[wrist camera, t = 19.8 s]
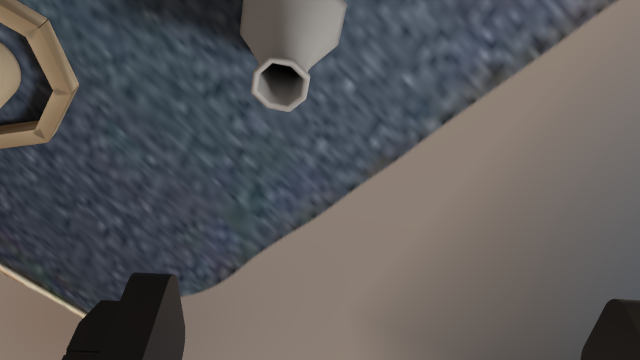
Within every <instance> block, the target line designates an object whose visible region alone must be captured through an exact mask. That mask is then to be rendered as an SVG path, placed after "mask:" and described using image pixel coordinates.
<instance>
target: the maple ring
mask: <svg viewBox="0 0 640 360" xmlns="http://www.w3.org/2000/svg"><path fill="white" fill-rule="evenodd" d="M0 22H1V23H2V24H4V25H6V26H8V27H9V28H11V29H13V30H15V31H16V32H18V33H20V34H22V35H23V36H25V37H26V38H27V40H28V42H29V44H30V46H31V48H32V50H33V52H34V54H35V56H36V58H37V60H38V62H39V64H40V66H41V68H42V69H43V71H44V73H45V75H46V77H47V79H48V81H49V83H50V85H51V87H52V89H53V93H52V95H51V97H50V99H49V101H48V103H47V105H46V108H45V110H44V112H43V114H42V116H41V118H40V120H38V121H31V122H24V123H17V124H9V125H2V126H0V149H1V148H9V147H16V146H24V145H31V144H39V143H46V142H49V140H50V139H51V138H52V136H53V135H54V134H55V132H56V131H57V129H58V127H59V125H60V123H61V121H62V119H63V117H64V115H65V113H66V111H67V109H68V107H69V105H70V103H71V101H72V99H73V97H74V95H75V93H76V91H77V89H78V87H79V83H78V81H77V79H76V77H75V75H74V72H73V70H72V68H71V66H70V64H69V62H68V60H67V58H66V56H65V53H64V51H63V49H62V47H61V45H60V43H59V41H58V39H57V37H56V34H55V32H54V30H53V28H52V26H51V24H50V22H49V20H47V18H46V17H44V16H42V15H40V14H39V13H37V12H35V11H34V10H32V9H30V8H28V7H27V6H25V5H23V4H22V3H20V2H18V1H17V0H0Z"/></svg>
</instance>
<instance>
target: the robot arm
mask: <svg viewBox="0 0 640 360" xmlns="http://www.w3.org/2000/svg"><path fill="white" fill-rule="evenodd" d="M184 343H185V324H184V318H183V311H182V305H181V299H180V293H179V287H178V281H177V277H176V276H175V275H174V274H155V273H133V274H132V275H131V277H130V278H129V280H128V283H127V285H126V287H125V290H124V292H123V295H122V297H121V300H120V301H106V300H101V301H100V302H99V303H98V304H97V305H96V306H95V307H94V308H93V309H92V310H91V311H90V312H89V313H88V314H87V315H86V316H85V317H84V318H83V319H82V320H81V321H80V323H79V324H78V326H77V328H76V330H75V333H74V335H73V337H72V339H71V341H70V343H69V345H68V347H67V352H66V355H64V356H63V358H62V360H182V356H183V351H184ZM581 360H640V300H624V299H612V300H610V301H609V302H608V303H607V304H606V306H605V307H604V309H603V311H602V313H601V315H600V317H599V319H598V321H597V323H596V324H595V326H594V328H593V330H592V332H591V334H590V336H589V338H588V340H587V342H586V343H585V345H584V347H583V350H582V355H581Z"/></svg>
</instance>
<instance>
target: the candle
mask: <svg viewBox="0 0 640 360" xmlns="http://www.w3.org/2000/svg"><path fill="white" fill-rule="evenodd" d="M20 82H21V70H20V67H19V64H18V62H17V60H16V58H15V57H14V55H13V54H12V52H11V51H10V50H9V49H8V48H7V47H6V46H5V45H4V44H2V43H1V42H0V108H1V107H2V106H3V105H4V104H5V103H6V102H7V101H8V100H9V99H10V97H11V96H12V95H13V94H14V93H15V92H16V90H17V89H18V87H19V85H20Z"/></svg>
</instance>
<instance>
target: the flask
mask: <svg viewBox="0 0 640 360" xmlns="http://www.w3.org/2000/svg"><path fill="white" fill-rule="evenodd" d="M346 8H347V4H346V3H345V1H344V0H243V7H242V16H241V25H240V35H241V36H242V38H243V39H244V41H245V42H246V43H247V45H248V46H249V48H250V49H251V51H252V53H253V54H254V56H255V58H256V60H257V61H258V64H259V66H258V67H257V68H256V69H255V70H254V71H253V79H252V87H251V94H252V95H253V96H255V97H256V98H257V99H258V100H259V101H260V102H261V103H262V104H263V105H264V106H265V107H267V108H269V109H275V110H281V111H286V112H290V111H292V110H293V109H294V108H295V107H296V106H298V105H299V104H300V103H301V102H303V101H304V100H305V99H306V96H307V91H308V86H309V81H310V75H309V74H308V73H307V72H308V70H309V69H310V68H311V67H312V66H313V65H314V64H315V63H317V62H318V61H319V60H320V59H321V58H323V57H324V56H325V55H326V54H327V53H329V52H330V51H331V50H332V49H333V48H335V47H336V46H337V45H338V44H339V39H340V35H341V30H342V26H343V21H344V17H345V12H346Z"/></svg>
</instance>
